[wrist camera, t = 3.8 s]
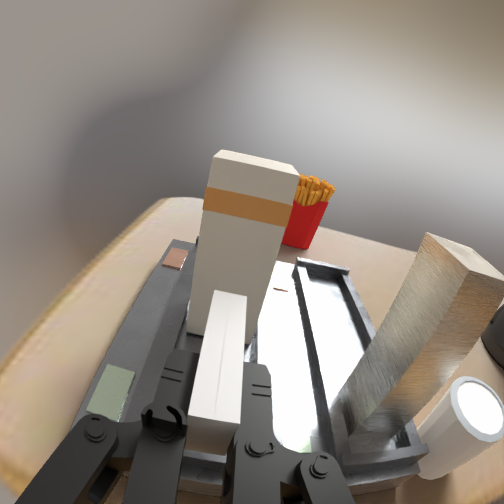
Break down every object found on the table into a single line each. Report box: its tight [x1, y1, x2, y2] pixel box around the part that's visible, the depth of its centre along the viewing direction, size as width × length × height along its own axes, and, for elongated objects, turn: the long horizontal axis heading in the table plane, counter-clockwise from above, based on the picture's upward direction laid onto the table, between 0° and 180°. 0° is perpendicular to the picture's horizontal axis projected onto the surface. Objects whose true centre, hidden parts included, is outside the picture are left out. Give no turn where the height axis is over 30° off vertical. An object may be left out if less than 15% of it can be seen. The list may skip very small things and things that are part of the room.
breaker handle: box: [186, 150, 300, 344], centre depth 20 cm, size 5×4×13 cm
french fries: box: [281, 173, 335, 249], centre depth 48 cm, size 8×4×12 cm, turn 81°
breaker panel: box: [70, 232, 504, 497], centre depth 21 cm, size 22×27×16 cm
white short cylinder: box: [416, 376, 504, 480], centre depth 15 cm, size 7×7×7 cm
